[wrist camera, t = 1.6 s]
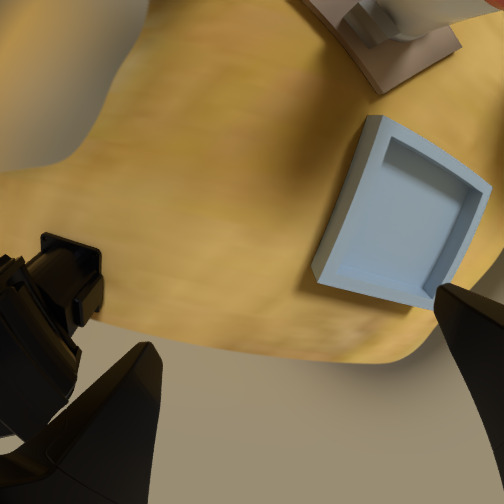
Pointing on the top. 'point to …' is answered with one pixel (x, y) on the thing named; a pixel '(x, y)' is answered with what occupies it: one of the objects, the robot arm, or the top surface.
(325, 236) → the tray
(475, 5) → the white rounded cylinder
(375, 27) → the clip rack
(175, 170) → the top surface
